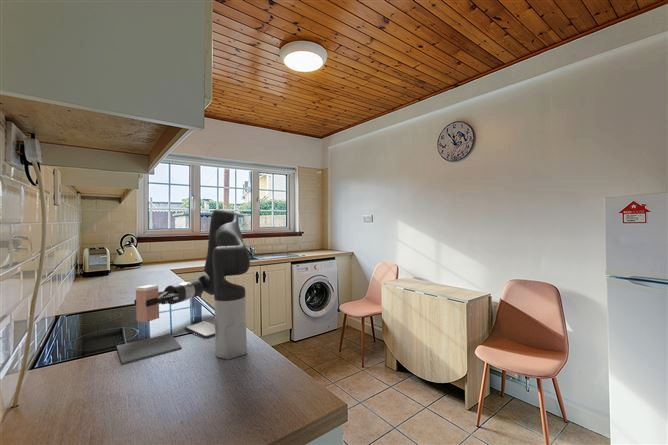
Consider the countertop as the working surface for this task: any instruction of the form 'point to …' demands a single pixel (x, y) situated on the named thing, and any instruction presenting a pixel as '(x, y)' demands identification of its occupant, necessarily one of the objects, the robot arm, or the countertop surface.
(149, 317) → the terracotta block
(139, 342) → the charcoal mat
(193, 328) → the phone case
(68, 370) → the countertop surface
